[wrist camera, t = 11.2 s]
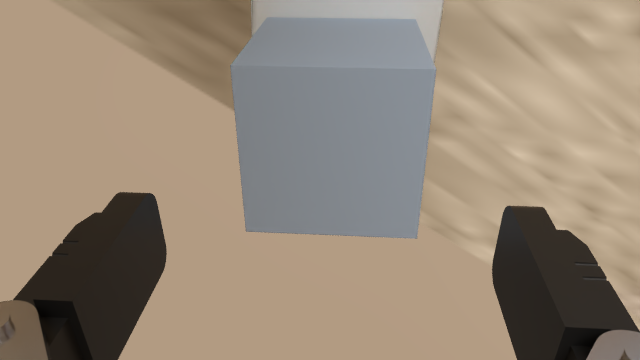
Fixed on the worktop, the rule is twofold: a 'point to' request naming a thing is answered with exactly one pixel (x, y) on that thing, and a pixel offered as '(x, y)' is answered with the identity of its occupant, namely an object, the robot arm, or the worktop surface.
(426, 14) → the supplement box
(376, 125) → the blue block
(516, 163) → the worktop surface
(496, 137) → the worktop surface
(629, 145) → the worktop surface
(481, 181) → the worktop surface
